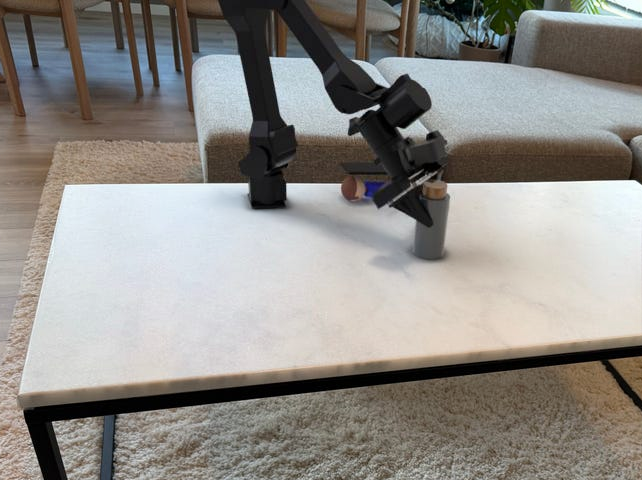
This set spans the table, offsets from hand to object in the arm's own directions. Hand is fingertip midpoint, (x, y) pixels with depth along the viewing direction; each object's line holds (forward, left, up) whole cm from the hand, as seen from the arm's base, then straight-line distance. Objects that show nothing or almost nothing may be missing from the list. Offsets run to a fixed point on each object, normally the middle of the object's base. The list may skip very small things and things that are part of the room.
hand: (438, 220), depth 121 cm
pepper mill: (-1, +1, -7) cm, 7 cm away
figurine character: (-4, +26, -7) cm, 27 cm away
